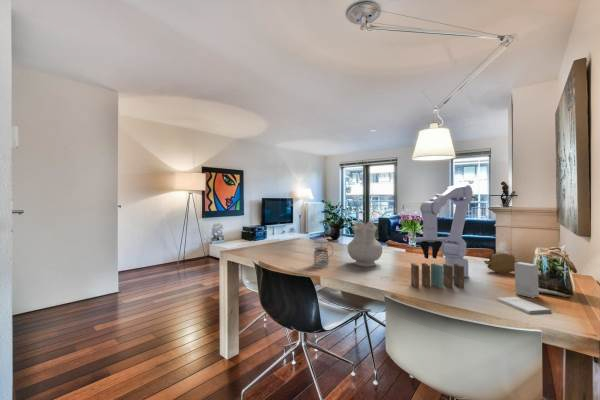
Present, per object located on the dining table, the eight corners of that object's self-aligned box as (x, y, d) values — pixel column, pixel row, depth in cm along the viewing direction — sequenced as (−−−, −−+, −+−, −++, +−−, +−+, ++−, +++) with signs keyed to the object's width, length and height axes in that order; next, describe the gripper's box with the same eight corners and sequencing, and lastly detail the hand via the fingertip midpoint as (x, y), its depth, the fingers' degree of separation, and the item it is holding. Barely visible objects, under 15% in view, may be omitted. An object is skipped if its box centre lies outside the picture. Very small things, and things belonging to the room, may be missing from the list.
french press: (313, 263, 162) (313, 220, 162) (333, 264, 160) (333, 220, 160) (311, 267, 152) (311, 221, 152) (333, 268, 150) (332, 221, 150)
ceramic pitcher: (386, 271, 147) (390, 224, 147) (349, 268, 147) (353, 221, 148) (376, 262, 169) (379, 221, 169) (344, 260, 169) (347, 219, 169)
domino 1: (414, 283, 122) (414, 263, 122) (419, 287, 117) (418, 265, 117) (411, 283, 122) (411, 263, 122) (415, 287, 117) (415, 265, 117)
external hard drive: (529, 316, 89) (496, 301, 101) (551, 314, 90) (516, 300, 102) (529, 310, 89) (496, 297, 101) (551, 309, 90) (516, 296, 102)
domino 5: (457, 284, 120) (457, 263, 120) (463, 288, 115) (463, 266, 115) (454, 284, 120) (454, 263, 120) (459, 288, 115) (459, 266, 115)
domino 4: (447, 284, 121) (447, 263, 121) (452, 288, 116) (452, 266, 116) (443, 284, 121) (443, 263, 121) (448, 288, 116) (448, 266, 116)
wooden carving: (518, 272, 141) (518, 252, 141) (523, 274, 136) (523, 254, 136) (482, 270, 143) (482, 251, 143) (486, 273, 139) (486, 253, 139)
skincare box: (539, 297, 105) (539, 264, 105) (533, 298, 103) (532, 265, 103) (520, 292, 110) (520, 261, 110) (514, 293, 108) (513, 262, 108)
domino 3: (434, 284, 121) (433, 263, 121) (442, 287, 116) (442, 265, 116) (430, 284, 121) (430, 263, 121) (439, 287, 116) (439, 266, 116)
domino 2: (425, 284, 121) (425, 263, 121) (430, 287, 116) (430, 266, 116) (421, 284, 121) (421, 263, 121) (426, 287, 116) (426, 265, 116)
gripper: (441, 226, 130) (441, 256, 130) (410, 227, 129) (410, 256, 129) (449, 228, 123) (450, 259, 123) (417, 228, 122) (417, 259, 122)
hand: (430, 258), depth 126 cm, fingers open, 3 cm apart
